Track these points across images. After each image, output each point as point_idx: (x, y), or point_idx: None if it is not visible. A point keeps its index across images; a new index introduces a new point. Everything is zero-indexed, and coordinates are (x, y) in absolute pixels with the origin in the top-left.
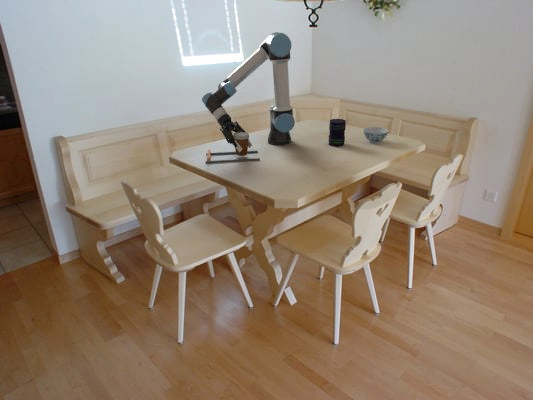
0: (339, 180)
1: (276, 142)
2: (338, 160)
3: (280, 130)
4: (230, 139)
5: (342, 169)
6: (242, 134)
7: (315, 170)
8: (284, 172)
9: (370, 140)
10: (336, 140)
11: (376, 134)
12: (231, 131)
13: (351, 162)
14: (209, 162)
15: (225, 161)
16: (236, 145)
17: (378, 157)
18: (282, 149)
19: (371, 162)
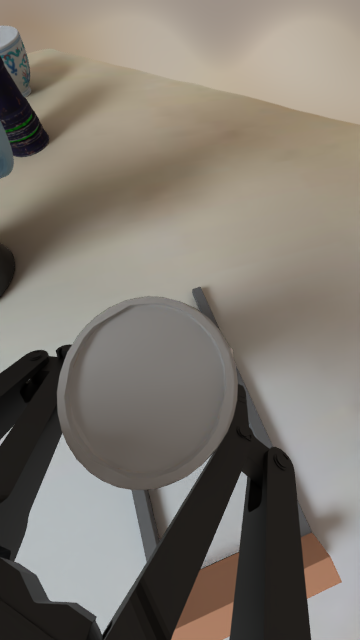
0: (285, 107)
1: (1, 273)
2: (156, 124)
3: (6, 157)
4: (286, 464)
5: (216, 112)
6: (142, 359)
7: (240, 148)
8: (284, 200)
9: (23, 84)
10: (30, 117)
11: (19, 41)
12: (152, 561)
13: (165, 106)
14: (309, 532)
15: (264, 431)
16: (240, 387)
17: (126, 80)
18: (67, 250)
19: (159, 84)
